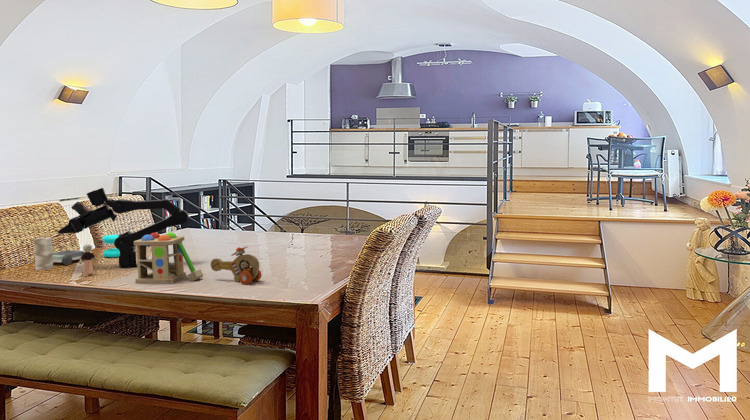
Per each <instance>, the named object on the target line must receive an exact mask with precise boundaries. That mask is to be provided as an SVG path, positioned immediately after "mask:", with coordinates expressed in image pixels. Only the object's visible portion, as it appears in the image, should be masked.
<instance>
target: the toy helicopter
mask: <svg viewBox="0 0 750 420" xmlns="http://www.w3.org/2000/svg"><path fill="white" fill-rule="evenodd" d="M247 248H249V246H245V247H240V246H239V247H237V248H236V250H235V252H234V253H232V254H231V257H233V256H237V257H236V258H235V259H233V260H232V261H231V260H229V261H228V260H227V261H226V260H222V259H221V258H218V257H217V258H213V259H211V262H210V268H211V270H212V271H214V272H218V271H219V272H220V271H221V270H226V271H230V272H232V275H233V277H234V278H233V280H234V282H236V283H239V282H240V283H241V284H242V285H244V286H245V285H249V284H251V283H252V282H258V281H260V280H261V278H262V272H261V270H260V261H259V259H258V258H257V257H256V256H255V255H252V254H249V253H248V254H247V253H246V250H245V249H247Z"/></svg>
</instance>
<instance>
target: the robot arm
mask: <svg viewBox="0 0 750 420" xmlns="http://www.w3.org/2000/svg"><path fill="white" fill-rule="evenodd" d="M105 192H106V191H105V189H104V187H100V188H98V189H95V190H92V191H90V192H87V193H86V196H87V198H88V201H89V202H90V204H91V206H94V207H96V208H95V209H93V210H92V209H91V210H89V209H88V208H87V206H85V205H84V204H83V203H82V202H80V201H76V202H75V203H74V204H73V205H72V206H71V207H70V208H71V209H72V210H74V211H75V212H76V213H78V216H75V217H72V218H70V219H69V221H68V223H67V224H66V225H65V226H64V227H61V228H60V229H59V230H57V234H59V235H62V234H64V235H65V234H78V233H80V232H83V231H85V229H88V228H90V227H92V226H94V225H97V224H100V223H101V222H104V221H107V220H108V219H111V221H112V222H115V221H116V219H117V217H118V215H117V214H124V213H129V212H132V211H138V210H139V211H140V210H156V209H157V210H158V209H159V210H160V209H165V210H166V212H168V213H169V214H170V215H169V216H168V217H167V218H164V219H161V220H160V221H157V222H155V223H153V224H151V225H148V226H146V227H144V228H140V229H139V230H137V231H134V232H131V230H127V231H125V232H124V233H119V234H117V235H118V236H119V237H118V238H116V239H115V242H114V244H113V245H114V247H115V248H117V249H119V251H120V256H119V257H118V266H119V268H120V269H121V268H123V269H125V268H136V267H137V268H138V263H137V250H136V249H137V245H134V241H136V240H140V239H142V237H143V236H144V235H150V234H152V233H158V232H161V231H162V230H165V229H167V228H170V227H174V226H179V225H183V224H185V223H187V221H188V219H189V213H188V212H187V211H186V210H184V209H181V208H179V206H177V205H176V204H174V203H173V202H172V201H171V200H170V199H168V198H164V199H152V200H151V199H149V200H131V199H121V198H120V199H117V200H116V199H112V198H111V199H110V198H108V196H107V194H106V193H105ZM115 213H116V214H115Z"/></svg>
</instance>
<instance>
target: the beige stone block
mask: <svg viewBox="0 0 750 420" xmlns="http://www.w3.org/2000/svg"><path fill="white" fill-rule="evenodd" d="M52 241H53V239H52V237H51V236H50V237H37V238H34V239H33V246H34V247H33V248H34V249H33V250H34V265H35V271H48V270H51V269H53V268H54V262H53V255H52V253H53V242H52Z"/></svg>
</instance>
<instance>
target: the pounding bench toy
mask: <svg viewBox="0 0 750 420" xmlns="http://www.w3.org/2000/svg"><path fill="white" fill-rule="evenodd" d="M183 241H185V236H181V235H179V236H177V234H176V233H175V232H172V231H169V232H167V233H165V234H160V233H158V232H156V233H152V234H150V235H144V236H143V237H142V239H140V240H136V241H134V245H136V262H137V278H135V284H175V283H176V282H178V281H180V280H182V279H183V278H184V277H186V276H187V277H188V279H189V281H190V282H195V281H197V280H199V279H200V278H203V276H204V274H203V271H202V269H200V268H199V269H197V270H196V268H195V266H194V264H193V262H192V260H191V258H190V256H189V254H188V252H187V250H186V249H185V246H184V244H183ZM169 246H172V253H169V252H170V251H169ZM149 247H151V248H150V249H151V259H150V258H149V259H147V248H149ZM171 257H173V261H174V262H170V258H171ZM184 261H185V263H186V264H187V267H188V268H189V270H190V273H188V274H187V271H184V270H185V268H184V267H185V266H184ZM148 270H150V272H148Z"/></svg>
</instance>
